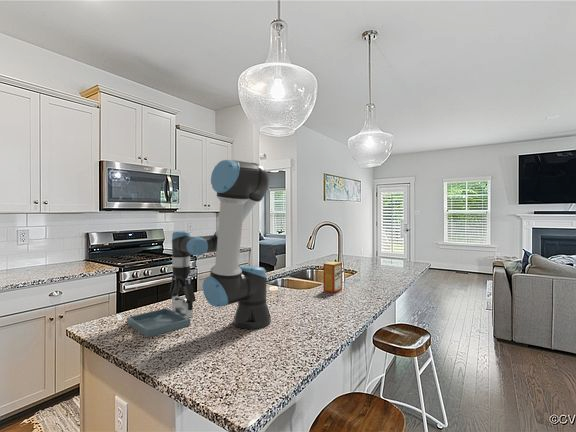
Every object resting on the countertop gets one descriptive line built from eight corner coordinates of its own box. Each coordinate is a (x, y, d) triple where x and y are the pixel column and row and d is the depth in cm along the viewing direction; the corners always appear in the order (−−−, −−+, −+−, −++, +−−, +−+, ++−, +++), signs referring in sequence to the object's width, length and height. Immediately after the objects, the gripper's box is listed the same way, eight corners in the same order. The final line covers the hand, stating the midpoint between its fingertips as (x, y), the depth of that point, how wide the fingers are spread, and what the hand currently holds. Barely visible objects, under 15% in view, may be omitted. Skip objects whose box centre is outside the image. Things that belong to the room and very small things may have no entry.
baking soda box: (332, 287, 189) (332, 260, 189) (342, 289, 185) (342, 261, 185) (323, 291, 182) (323, 263, 181) (333, 293, 178) (333, 264, 177)
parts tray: (190, 325, 130) (190, 319, 130) (147, 337, 118) (147, 330, 118) (166, 313, 145) (166, 307, 145) (126, 323, 133) (126, 317, 133)
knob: (192, 314, 144) (192, 297, 144) (178, 317, 140) (178, 301, 140) (185, 310, 149) (185, 295, 149) (172, 314, 144) (171, 298, 144)
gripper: (203, 268, 138) (204, 318, 138) (176, 261, 155) (177, 305, 156) (187, 270, 132) (187, 322, 133) (161, 263, 150) (161, 309, 150)
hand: (182, 313), depth 144 cm, fingers open, 12 cm apart
